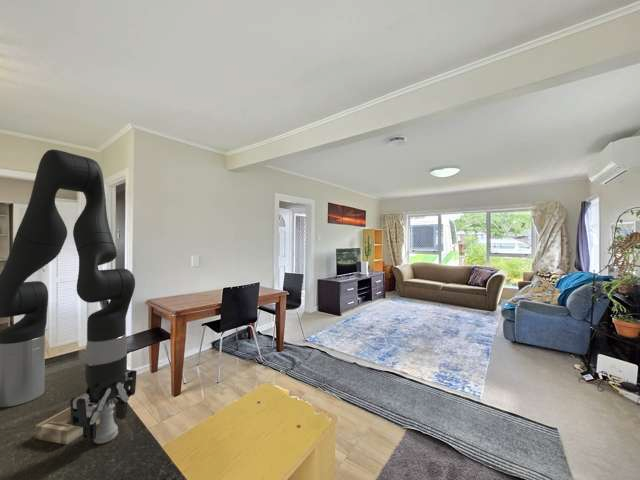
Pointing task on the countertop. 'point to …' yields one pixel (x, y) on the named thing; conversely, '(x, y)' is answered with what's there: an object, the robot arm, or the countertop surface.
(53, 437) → the socket block
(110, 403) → the rook chess piece
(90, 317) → the robot arm
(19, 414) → the countertop surface
